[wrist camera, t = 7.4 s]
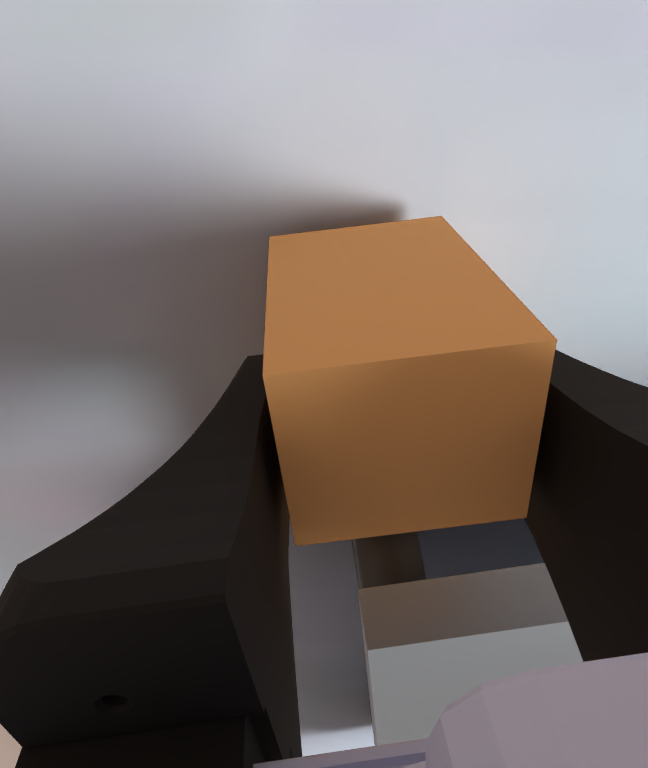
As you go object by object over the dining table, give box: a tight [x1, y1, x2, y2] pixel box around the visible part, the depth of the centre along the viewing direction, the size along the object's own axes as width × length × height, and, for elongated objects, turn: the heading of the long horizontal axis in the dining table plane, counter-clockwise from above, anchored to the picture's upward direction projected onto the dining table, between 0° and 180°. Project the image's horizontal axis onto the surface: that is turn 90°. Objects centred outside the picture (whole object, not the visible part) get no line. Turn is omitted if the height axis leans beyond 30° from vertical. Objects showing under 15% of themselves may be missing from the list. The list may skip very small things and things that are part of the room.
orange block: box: [263, 216, 557, 546], centre depth 11 cm, size 4×7×6 cm, turn 5°
